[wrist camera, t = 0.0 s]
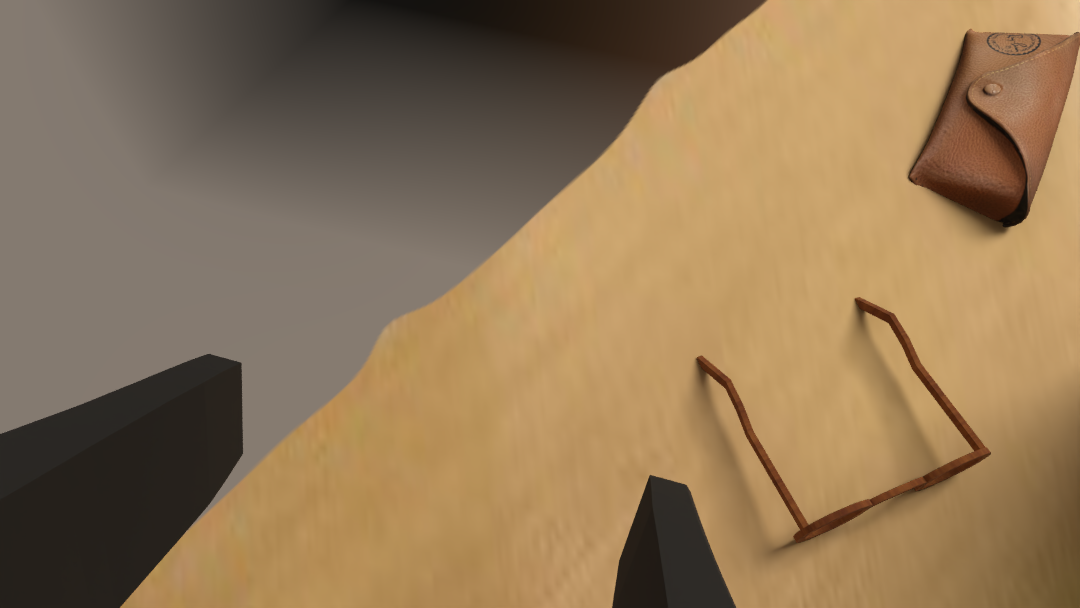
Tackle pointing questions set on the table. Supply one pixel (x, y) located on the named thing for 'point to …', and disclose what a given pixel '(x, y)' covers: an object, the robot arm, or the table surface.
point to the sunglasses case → (999, 122)
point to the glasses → (860, 507)
